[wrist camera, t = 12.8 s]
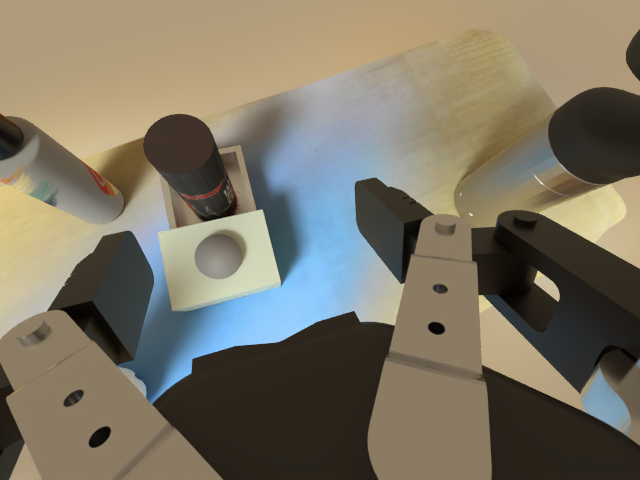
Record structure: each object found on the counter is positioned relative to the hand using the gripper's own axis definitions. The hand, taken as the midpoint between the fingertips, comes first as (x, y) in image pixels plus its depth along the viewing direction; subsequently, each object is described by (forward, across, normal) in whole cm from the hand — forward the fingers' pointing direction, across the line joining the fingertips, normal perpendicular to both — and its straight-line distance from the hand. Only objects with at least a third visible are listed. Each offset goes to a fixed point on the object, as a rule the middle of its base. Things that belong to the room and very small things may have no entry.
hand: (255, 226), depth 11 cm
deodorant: (+31, +5, +12) cm, 33 cm away
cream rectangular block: (+25, +5, +18) cm, 31 cm away
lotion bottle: (+34, +19, +10) cm, 40 cm away
